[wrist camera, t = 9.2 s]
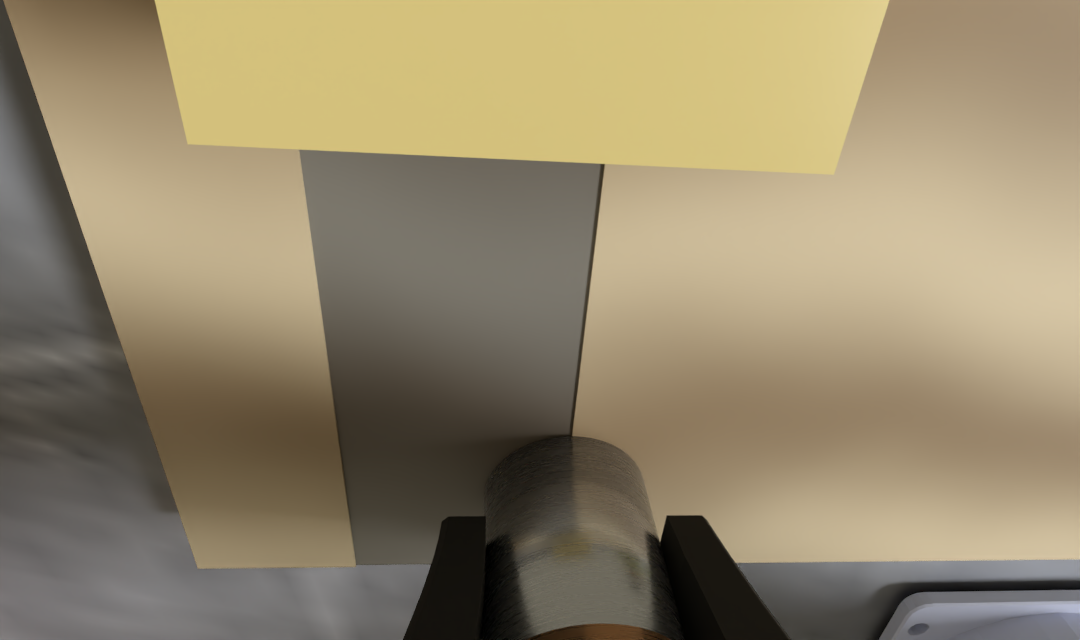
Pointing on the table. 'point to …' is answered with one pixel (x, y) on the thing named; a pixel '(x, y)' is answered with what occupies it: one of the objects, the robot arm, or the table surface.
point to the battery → (573, 548)
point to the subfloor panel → (603, 309)
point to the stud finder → (528, 78)
